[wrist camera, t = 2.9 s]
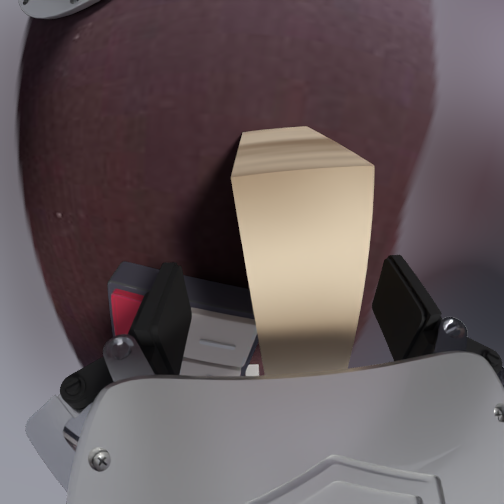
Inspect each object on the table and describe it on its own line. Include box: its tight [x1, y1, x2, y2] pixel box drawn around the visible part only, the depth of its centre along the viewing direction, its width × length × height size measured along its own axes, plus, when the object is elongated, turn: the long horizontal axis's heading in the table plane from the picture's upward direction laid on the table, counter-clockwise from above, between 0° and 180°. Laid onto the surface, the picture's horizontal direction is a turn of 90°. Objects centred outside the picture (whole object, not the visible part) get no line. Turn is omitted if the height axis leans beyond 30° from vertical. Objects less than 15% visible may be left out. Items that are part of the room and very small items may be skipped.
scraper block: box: [231, 126, 374, 376], centre depth 13 cm, size 11×4×9 cm, turn 7°
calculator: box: [108, 262, 259, 376], centre depth 21 cm, size 11×4×15 cm
